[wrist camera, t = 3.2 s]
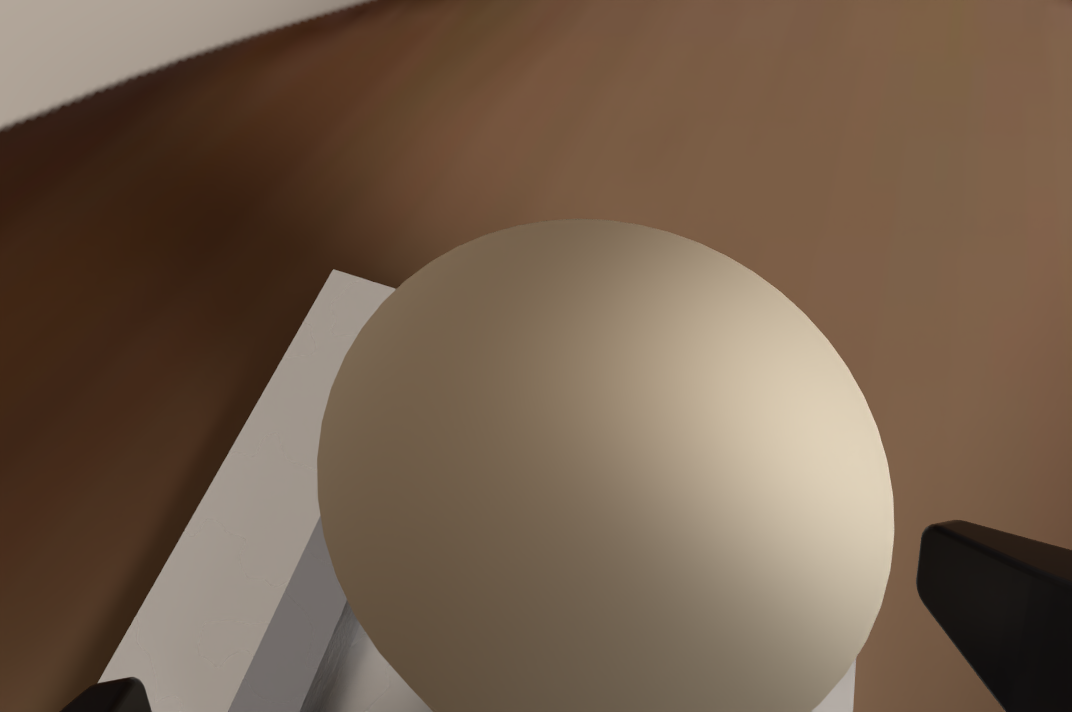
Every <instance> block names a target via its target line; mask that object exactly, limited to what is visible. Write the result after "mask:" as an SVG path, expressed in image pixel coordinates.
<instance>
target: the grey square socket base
mask: <svg viewBox="0 0 1072 712" xmlns="http://www.w3.org/2000/svg"><path fill="white" fill-rule="evenodd" d="M395 290H396V289H395V288H392V287H388V286H385V285H382V284H379V283H376V282H372V281H369V280H366V279H363V278H360V277H356V276H353V275H350V274H347V273H344V272H341V271H337V270H334V269H333V271H332V272H331V274H330V276H329V278H328V279H327V281H326V283H325V285H324V286H323V288H322V290H321V292H320V293H319V295H318V297H317V299H316V300H315V302H314V304H313V306H312V307H311V309H310V311H309V313H308V314H307V316H306V318H305V320H304V321H303V323H302V325H301V327H300V328H299V330H298V332H297V334H296V335H295V337H294V339H293V341H292V342H291V344H290V346H289V348H288V350H287V351H286V353H285V355H284V357H283V358H282V360H281V362H280V364H279V365H278V367H277V369H276V371H275V372H274V374H273V376H272V378H271V379H270V381H269V383H268V385H267V386H266V388H265V390H264V392H263V393H262V395H261V397H260V399H259V400H258V402H257V404H256V406H255V407H254V409H253V411H252V413H251V414H250V416H249V418H248V420H247V422H246V423H245V425H244V427H243V429H242V430H241V432H240V434H239V436H238V437H237V439H236V441H235V443H234V444H233V446H232V448H231V450H230V451H229V453H228V455H227V457H226V458H225V460H224V462H223V464H222V465H221V467H220V469H219V471H218V472H217V474H216V476H215V478H214V479H213V481H212V483H211V485H210V486H209V488H208V490H207V492H206V494H205V495H204V497H203V499H202V501H201V502H200V504H199V506H198V508H197V509H196V511H195V513H194V515H193V516H192V518H191V520H190V522H189V523H188V525H187V527H186V529H185V530H184V532H183V534H182V536H181V537H180V539H179V541H178V543H177V544H176V546H175V548H174V550H173V551H172V553H171V555H170V557H169V558H168V560H167V562H166V564H165V565H164V567H163V569H162V571H161V573H160V574H159V576H158V578H157V580H156V581H155V583H154V585H153V587H152V588H151V590H150V592H149V594H148V595H147V597H146V599H145V601H144V602H143V604H142V606H141V608H140V609H139V611H138V613H137V615H136V616H135V618H134V620H133V622H132V623H131V625H130V627H129V629H128V630H127V632H126V634H125V636H124V637H123V639H122V641H121V643H120V645H119V646H118V648H117V650H116V652H115V653H114V655H113V657H112V659H111V660H110V662H109V664H108V666H107V667H106V669H105V671H104V673H103V674H102V676H101V678H100V680H99V681H98V683H101V682H106V681H111V680H117V679H122V678H127V677H135V678H138V679H140V680H141V682H142V683H143V685H144V687H145V689H146V693H147V696H148V700H149V703H150V707H151V710H152V712H433V711H432V710H431V709H430V708H429V707H428V706H427V705H426V704H425V703H424V702H423V701H422V699H421V698H420V697H419V696H418V695H417V694H416V693H415V692H414V691H413V690H412V689H411V688H410V687H409V686H408V684H407V683H406V682H405V681H404V680H403V679H402V678H401V677H400V675H399V674H398V673H397V672H396V671H395V670H394V669H393V668H392V666H391V665H390V664H389V663H388V662H387V661H386V660H385V659H384V657H383V656H382V655H381V654H380V653H379V652H378V650H377V649H376V647H375V645H374V644H373V642H372V641H371V639H370V638H369V636H368V635H367V633H366V632H365V630H364V629H363V627H362V626H361V624H360V623H359V621H358V620H357V618H356V617H355V615H354V613H353V611H352V609H351V607H350V605H349V602H348V600H347V598H346V596H345V594H344V592H343V590H342V588H341V586H340V583H339V581H338V579H337V577H336V574H335V571H334V568H333V565H332V561H331V558H330V555H329V552H328V548H327V545H326V542H325V539H324V534H323V528H322V522H321V515H320V509H319V503H318V487H317V456H318V448H319V440H320V432H321V424H322V420H323V416H324V412H325V409H326V405H327V401H328V398H329V394H330V390H331V387H332V385H333V383H334V380H335V378H336V376H337V373H338V371H339V369H340V366H341V364H342V362H343V359H344V357H345V355H346V354H347V352H348V350H349V349H350V347H351V345H352V344H353V342H354V340H355V339H356V337H357V335H358V334H359V332H360V330H361V329H362V327H363V326H364V325H365V324H366V322H367V321H368V320H369V319H370V317H371V316H372V315H373V314H374V312H375V311H376V310H377V309H378V307H379V306H380V305H381V304H382V302H383V301H384V300H386V299H387V298H388V297H389V296H390V295H391V294H392V293H393V292H394V291H395ZM855 666H856V658H855V660H854V662H853V663H852V665H851V666H850V668H849V670H848V671H847V673H846V674H845V675H844V677H843V678H842V679H841V680H840V681H839V682H838V684H837V685H836V686H835V687H834V688H833V689H832V690H831V692H830V693H829V694H828V695H827V696H826V697H825V699H824V700H823V701H822V702H821V703H820V704H819V705H818V706H817V707H816V708H814V709H813V710H812V711H811V712H853V700H854V683H855Z"/></svg>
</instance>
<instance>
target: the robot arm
mask: <svg viewBox="0 0 1072 712" xmlns="http://www.w3.org/2000/svg"><path fill="white" fill-rule="evenodd" d="M916 585H917V590H918V593H919V596H920V598H921V600H922V602H923V603H924V605H925V606H926V608H927V609H928V610H929V612H930V613H931V614H932V616H933V617H934V618H935V620H936V621H937V622H938V623H939V625H940V626H941V627H942V629H943V630H944V631H945V633H946V634H947V635H948V637H949V638H950V639H951V641H952V642H953V643H954V645H955V646H956V647H957V649H958V650H959V651H960V653H961V654H962V655H963V657H964V658H965V659H966V661H967V662H968V663H969V664H970V666H971V667H972V668H973V670H974V671H975V672H976V674H977V675H978V676H979V678H980V679H981V680H982V682H983V683H984V684H985V686H986V687H987V688H988V690H989V691H990V692H991V694H992V695H993V696H994V697H995V699H996V700H997V701H998V702H999V704H1000V705H1001V706H1002V708H1003V709H1004V710H1005V711H1006V712H1072V550H1069V549H1065V548H1061V547H1058V546H1054V545H1050V544H1047V543H1043V542H1039V541H1036V540H1032V539H1028V538H1025V537H1021V536H1017V535H1014V534H1010V533H1006V532H1003V531H999V530H996V529H992V528H988V527H985V526H981V525H977V524H974V523H970V522H966V521H962V520H952V521H947V522H941V523H936V524H931V525H929V526H928V527H926V528H925V530H924V532H923V533H922V537H921V544H920V552H919V561H918V569H917V577H916ZM60 712H152V710H151V707H150V703H149V700H148V696H147V693H146V689H145V687H144V685H143V683H142V682H141V680H140V679H138V678H135V677H127V678H122V679H117V680H111V681H106V682H101V683H97V684H94V685H92V686H90V687H89V688H88V689H86V690H85V691H84V692H82V693H81V694H80V695H79V696H78V697H76V698H75V699H74V700H73V701H72V702H70V703H69V704H68V705H67V706H66V707H64V708H63V709H62V710H61V711H60Z"/></svg>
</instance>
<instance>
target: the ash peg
mask: <svg viewBox="0 0 1072 712" xmlns="http://www.w3.org/2000/svg"><path fill="white" fill-rule="evenodd" d="M317 487H318V503H319V509H320V515H321V522H322V528H323V534H324V539H325V542H326V545H327V548H328V552H329V555H330V558H331V561H332V565H333V568H334V571H335V574H336V577H337V579H338V581H339V583H340V586H341V588H342V590H343V592H344V594H345V596H346V598H347V600H348V602H349V605H350V607H351V609H352V611H353V613H354V615H355V617H356V618H357V620H358V621H359V623H360V624H361V626H362V627H363V629H364V630H365V632H366V633H367V635H368V636H369V638H370V639H371V641H372V642H373V644H374V645H375V647H376V649H377V650H378V652H379V653H380V654H381V655H382V656H383V657H384V659H385V660H386V661H387V662H388V663H389V664H390V665H391V666H392V668H393V669H394V670H395V671H396V672H397V673H398V674H399V675H400V677H401V678H402V679H403V680H404V681H405V682H406V683H407V684H408V686H409V687H410V688H411V689H412V690H413V691H414V692H415V693H416V694H417V695H418V696H419V697H420V698H421V699H422V701H423V702H424V703H425V704H426V705H427V706H428V707H429V708H430V709H431V710H432V711H433V712H811V711H812V710H813V709H814V708H816V707H817V706H818V705H819V704H820V703H821V702H822V701H823V700H824V699H825V697H826V696H827V695H828V694H829V693H830V692H831V690H832V689H833V688H834V687H835V686H836V685H837V684H838V682H839V681H840V680H841V679H842V678H843V677H844V675H845V674H846V673H847V671H848V670H849V668H850V666H851V665H852V663H853V662H854V660H855V658H856V657H857V655H858V653H859V652H860V650H861V649H862V647H863V645H864V644H865V642H866V640H867V638H868V636H869V633H870V631H871V629H872V626H873V624H874V621H875V619H876V617H877V614H878V612H879V610H880V607H881V604H882V600H883V596H884V592H885V589H886V585H887V581H888V577H889V573H890V568H891V559H892V549H893V540H894V511H893V493H892V487H891V481H890V475H889V469H888V463H887V459H886V455H885V452H884V449H883V445H882V442H881V438H880V435H879V432H878V428H877V426H876V423H875V421H874V419H873V416H872V414H871V412H870V409H869V407H868V405H867V402H866V400H865V398H864V395H863V394H862V392H861V390H860V388H859V387H858V385H857V383H856V381H855V380H854V378H853V376H852V374H851V373H850V371H849V369H848V367H847V366H846V364H845V363H844V362H843V360H842V359H841V357H840V356H839V355H838V353H837V352H836V350H835V349H834V348H833V346H832V345H831V344H830V342H829V341H828V339H827V338H826V337H825V336H824V335H823V334H822V333H821V331H820V330H819V329H818V328H817V327H816V326H815V325H814V324H813V323H812V321H811V320H810V319H809V318H808V317H807V316H806V315H805V314H804V313H803V312H802V311H801V310H800V309H799V308H798V307H797V306H796V305H794V304H793V303H792V302H791V301H790V300H789V299H788V298H787V297H786V296H785V295H783V294H782V293H781V292H780V291H779V290H777V289H776V288H775V287H773V286H772V285H771V284H769V283H768V282H767V281H765V280H764V279H762V278H761V277H760V276H758V275H757V274H756V273H754V272H753V271H751V270H749V269H748V268H746V267H744V266H743V265H741V264H739V263H738V262H736V261H734V260H733V259H731V258H729V257H728V256H726V255H723V254H721V253H719V252H717V251H715V250H713V249H711V248H709V247H707V246H704V245H702V244H700V243H698V242H695V241H692V240H690V239H687V238H684V237H681V236H678V235H676V234H673V233H670V232H666V231H662V230H658V229H654V228H650V227H646V226H642V225H638V224H631V223H624V222H617V221H611V220H593V219H566V220H550V221H542V222H536V223H530V224H524V225H519V226H514V227H511V228H507V229H504V230H500V231H497V232H493V233H490V234H486V235H484V236H482V237H479V238H477V239H474V240H472V241H470V242H467V243H465V244H462V245H460V246H458V247H456V248H454V249H452V250H451V251H449V252H447V253H445V254H444V255H442V256H440V257H438V258H436V259H435V260H433V261H431V262H430V263H428V264H427V265H426V266H424V267H423V268H422V269H420V270H419V271H418V272H416V273H415V274H414V275H412V276H411V277H409V278H408V279H407V280H405V281H404V282H403V283H402V284H401V285H400V286H399V287H398V288H397V289H396V290H395V291H394V292H393V293H392V294H391V295H390V296H389V297H388V298H387V299H386V300H384V301H383V302H382V304H381V305H380V306H379V307H378V309H377V310H376V311H375V312H374V314H373V315H372V316H371V317H370V319H369V320H368V321H367V322H366V324H365V325H364V326H363V327H362V329H361V330H360V332H359V334H358V335H357V337H356V339H355V340H354V342H353V344H352V345H351V347H350V349H349V350H348V352H347V354H346V355H345V357H344V359H343V362H342V364H341V366H340V369H339V371H338V373H337V376H336V378H335V380H334V383H333V385H332V387H331V390H330V394H329V398H328V401H327V405H326V409H325V412H324V416H323V420H322V424H321V432H320V440H319V448H318V456H317Z"/></svg>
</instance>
